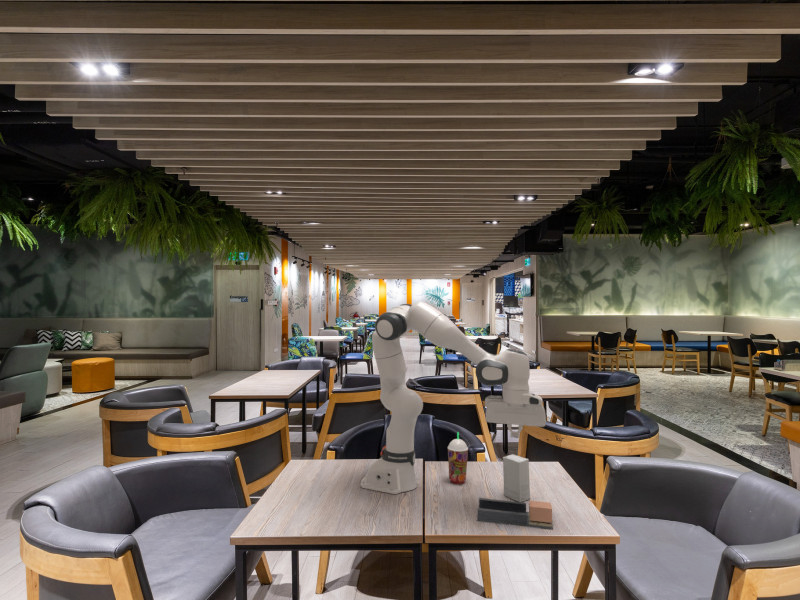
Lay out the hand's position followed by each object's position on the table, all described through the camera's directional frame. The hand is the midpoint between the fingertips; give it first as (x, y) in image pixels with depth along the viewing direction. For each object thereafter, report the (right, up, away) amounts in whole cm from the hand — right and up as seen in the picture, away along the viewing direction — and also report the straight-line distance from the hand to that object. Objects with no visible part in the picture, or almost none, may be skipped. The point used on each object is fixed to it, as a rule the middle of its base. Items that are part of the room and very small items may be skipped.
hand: (514, 437), depth 157 cm
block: (+7, -27, -5) cm, 28 cm away
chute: (-1, -27, -3) cm, 27 cm away
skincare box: (+4, -27, +15) cm, 31 cm away
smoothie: (-16, -27, +30) cm, 43 cm away
